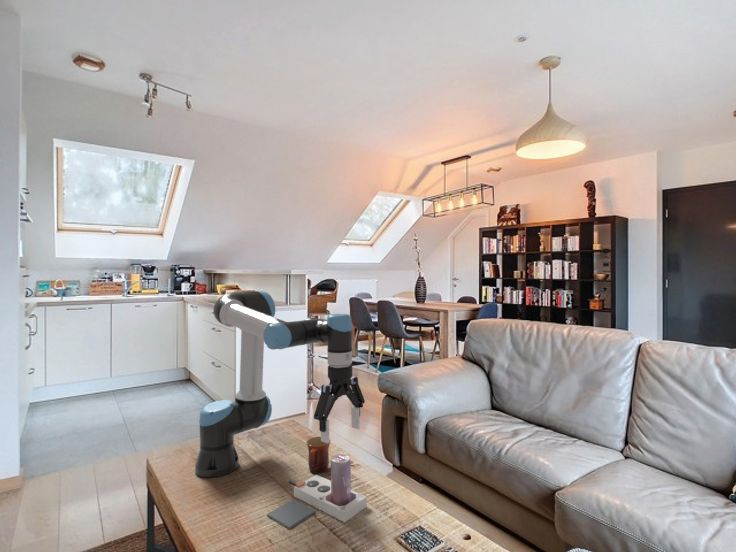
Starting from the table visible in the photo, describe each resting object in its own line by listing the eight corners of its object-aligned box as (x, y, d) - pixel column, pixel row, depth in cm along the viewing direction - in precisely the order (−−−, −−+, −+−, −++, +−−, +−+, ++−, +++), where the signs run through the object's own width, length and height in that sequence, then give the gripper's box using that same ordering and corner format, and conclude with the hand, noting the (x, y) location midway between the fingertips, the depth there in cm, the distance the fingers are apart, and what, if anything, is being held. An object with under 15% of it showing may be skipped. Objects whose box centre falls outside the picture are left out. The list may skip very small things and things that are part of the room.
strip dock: (277, 488, 135) (277, 477, 135) (301, 475, 144) (301, 465, 144) (343, 523, 116) (343, 510, 116) (367, 505, 125) (367, 494, 125)
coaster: (267, 515, 120) (267, 513, 120) (293, 501, 128) (293, 499, 128) (289, 529, 114) (289, 527, 114) (315, 512, 122) (315, 510, 122)
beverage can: (342, 499, 129) (341, 452, 129) (354, 506, 124) (354, 458, 124) (327, 507, 125) (326, 458, 124) (340, 515, 120) (339, 464, 120)
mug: (311, 462, 154) (311, 435, 154) (333, 464, 152) (333, 437, 152) (299, 478, 142) (299, 449, 142) (323, 480, 140) (323, 451, 140)
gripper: (318, 374, 112) (320, 451, 112) (375, 359, 131) (375, 425, 131) (300, 371, 117) (301, 444, 117) (357, 356, 136) (358, 420, 136)
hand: (340, 434), depth 124 cm, fingers open, 13 cm apart
